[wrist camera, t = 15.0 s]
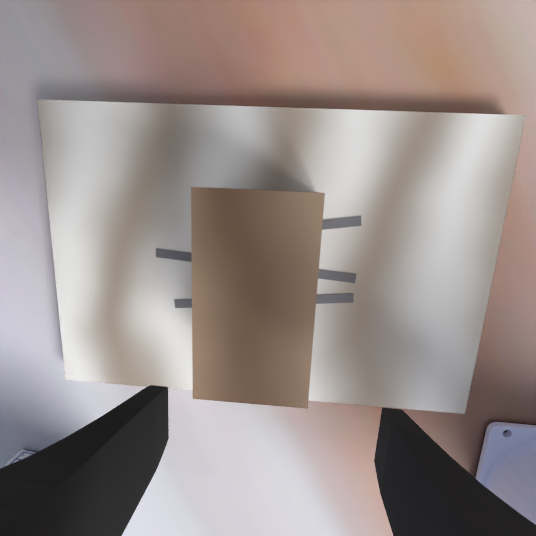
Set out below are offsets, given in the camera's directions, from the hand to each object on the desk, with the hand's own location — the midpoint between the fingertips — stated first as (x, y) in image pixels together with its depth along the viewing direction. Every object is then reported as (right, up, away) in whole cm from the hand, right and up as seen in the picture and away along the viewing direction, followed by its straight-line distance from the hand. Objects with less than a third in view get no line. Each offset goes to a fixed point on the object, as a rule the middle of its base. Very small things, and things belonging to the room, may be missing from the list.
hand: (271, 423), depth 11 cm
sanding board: (0, +6, +8) cm, 10 cm away
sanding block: (0, +5, +7) cm, 9 cm away
